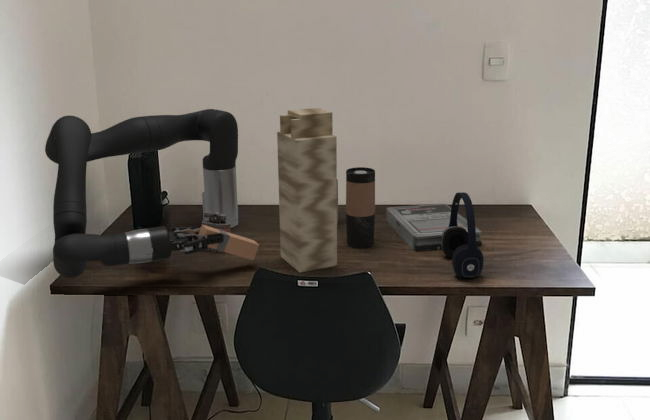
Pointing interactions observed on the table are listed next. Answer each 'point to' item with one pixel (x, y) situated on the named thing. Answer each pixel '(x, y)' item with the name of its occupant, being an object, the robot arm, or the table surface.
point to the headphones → (462, 241)
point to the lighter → (216, 223)
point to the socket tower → (307, 189)
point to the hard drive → (424, 225)
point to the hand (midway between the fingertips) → (219, 234)
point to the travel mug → (360, 207)
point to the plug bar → (232, 243)
